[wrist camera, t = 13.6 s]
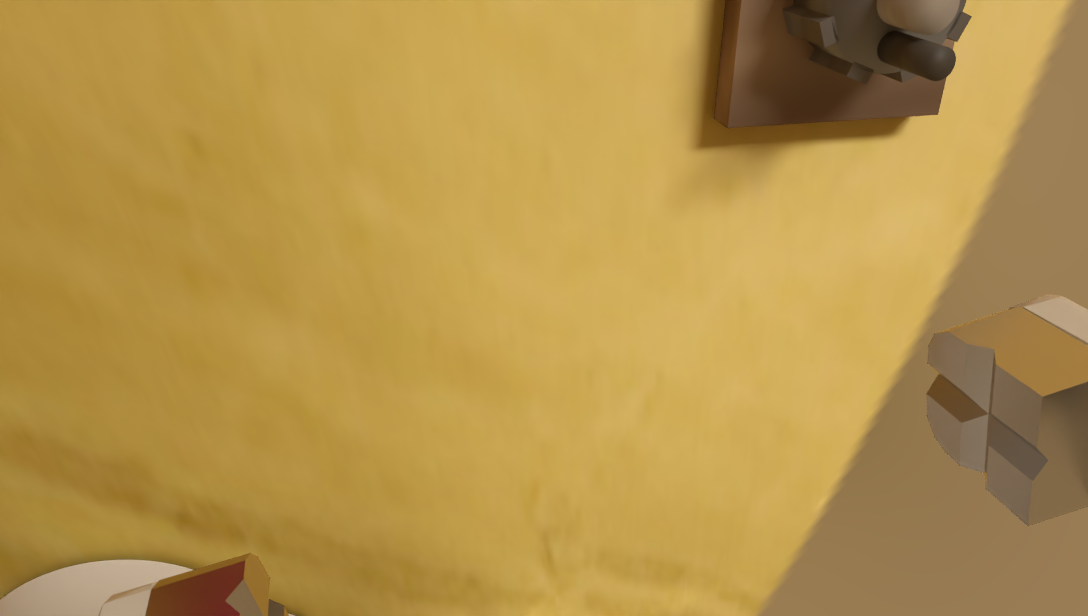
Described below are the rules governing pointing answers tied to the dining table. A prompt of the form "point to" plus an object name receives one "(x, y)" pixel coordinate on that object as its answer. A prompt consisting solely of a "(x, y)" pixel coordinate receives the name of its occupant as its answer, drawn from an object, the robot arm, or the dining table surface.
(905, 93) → the gear board
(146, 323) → the dining table surface
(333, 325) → the dining table surface
